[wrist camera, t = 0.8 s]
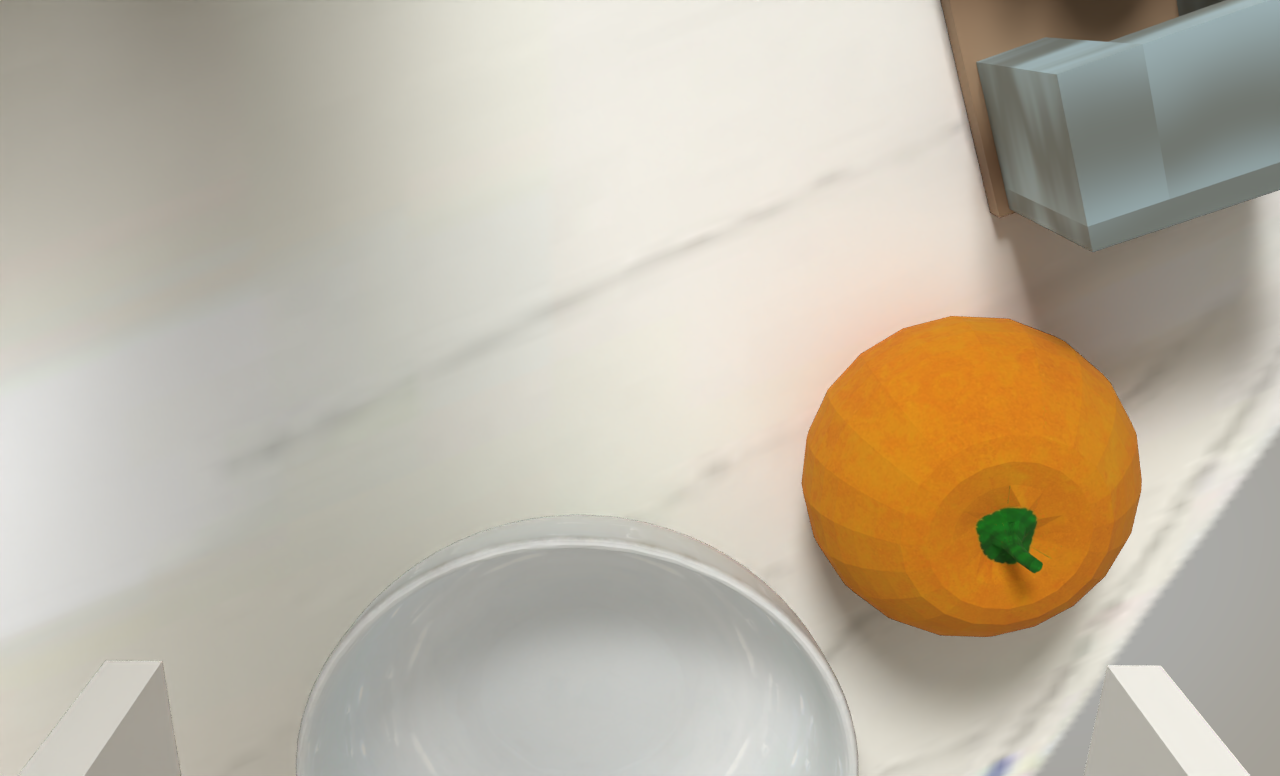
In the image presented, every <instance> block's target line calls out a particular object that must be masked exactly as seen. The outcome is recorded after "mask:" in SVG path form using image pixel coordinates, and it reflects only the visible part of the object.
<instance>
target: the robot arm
mask: <svg viewBox="0 0 1280 776" xmlns="http://www.w3.org/2000/svg"><path fill="white" fill-rule="evenodd" d="M18 776H181V771H180V765H179V759H178V753H177V747H176V741H175V735H174V729H173V723H172V717H171V711H170V705H169V699H168V693H167V687H166V681H165V675H164V669H163V663H162V661H105V662H104V663H103V665H102V666H101V667H100V668H99V670H98V671H97V672H96V674H95V675H94V676H93V678H92V679H91V680H90V682H89V683H88V684H87V685H86V687H85V688H84V689H83V691H82V692H81V693H80V695H79V696H78V697H77V699H76V700H75V701H74V703H73V704H72V705H71V706H70V708H69V709H68V710H67V712H66V713H65V714H64V716H63V717H62V718H61V720H60V721H59V722H58V723H57V725H56V726H55V727H54V729H53V730H52V731H51V733H50V734H49V735H48V737H47V738H46V739H45V741H44V742H43V743H42V744H41V746H40V747H39V748H38V750H37V751H36V752H35V754H34V755H33V756H32V758H31V759H30V760H29V761H28V763H27V764H26V765H25V767H24V768H23V769H22V771H21V772H20V773H19V775H18ZM1084 776H1250V775H1249V774H1248V772H1247V771H1246V770H1245V769H1244V768H1243V766H1242V765H1241V764H1240V763H1239V761H1238V760H1237V759H1236V758H1235V756H1234V755H1233V754H1232V753H1231V751H1230V750H1229V749H1228V748H1227V747H1226V746H1225V744H1224V743H1223V742H1222V740H1221V739H1220V738H1219V737H1218V736H1217V734H1216V733H1215V732H1214V731H1213V729H1212V728H1211V727H1210V726H1209V724H1208V723H1207V722H1206V721H1205V720H1204V718H1203V717H1202V716H1201V715H1200V713H1199V712H1198V711H1197V710H1196V708H1195V707H1194V706H1193V705H1192V703H1191V702H1190V701H1189V700H1188V699H1187V697H1186V696H1185V695H1184V694H1183V692H1182V691H1181V690H1180V689H1179V687H1178V686H1177V685H1176V684H1175V683H1174V681H1173V680H1172V679H1171V678H1170V676H1169V675H1168V674H1167V673H1166V671H1165V670H1164V669H1163V668H1162V667H1161V666H1127V665H1125V666H1124V665H1123V666H1122V665H1120V666H1119V665H1107V668H1106V673H1105V678H1104V682H1103V687H1102V692H1101V697H1100V702H1099V706H1098V711H1097V716H1096V720H1095V725H1094V729H1093V734H1092V739H1091V743H1090V748H1089V753H1088V757H1087V762H1086V767H1085V772H1084Z"/></svg>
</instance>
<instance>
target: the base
mask: <svg viewBox="0 0 1280 776" xmlns="http://www.w3.org/2000/svg"><path fill="white" fill-rule="evenodd" d="M941 4H942V8H943V12H944V17H945V21H946V25H947V29H948V34H949V38H950V42H951V47H952V51H953V55H954V59H955V64H956V68H957V72H958V76H959V81H960V85H961V89H962V94H963V98H964V102H965V106H966V111H967V115H968V119H969V123H970V128H971V132H972V136H973V140H974V145H975V149H976V153H977V158H978V162H979V166H980V170H981V175H982V179H983V183H984V187H985V192H986V196H987V200H988V204H989V209H990V213H992V214H994V215H995V216H997V217H999V218H1001V217H1004V216H1007V215H1010V214H1013V213H1018V214H1020V215H1022V216H1024V217H1026V218H1028V219H1030V220H1032V221H1034V222H1036V223H1038V224H1039V225H1041V226H1043V227H1045V228H1047V229H1049V230H1051V231H1053V232H1055V233H1057V234H1059V235H1061V236H1063V237H1064V238H1066V239H1068V240H1070V241H1072V242H1074V243H1076V244H1078V245H1080V246H1082V247H1084V248H1086V249H1088V250H1089V251H1091V252H1095V251H1098V250H1101V249H1104V248H1107V247H1110V246H1113V245H1116V244H1119V243H1122V242H1125V241H1128V240H1131V239H1134V238H1137V237H1140V236H1143V235H1146V234H1149V233H1152V232H1155V231H1158V230H1161V229H1164V228H1167V227H1170V226H1173V225H1176V224H1179V223H1182V222H1185V221H1188V220H1191V219H1194V218H1197V217H1200V216H1203V215H1206V214H1209V213H1212V212H1215V211H1218V210H1221V209H1224V208H1227V207H1230V206H1233V205H1236V204H1239V203H1242V202H1245V201H1248V200H1251V199H1254V198H1257V197H1260V196H1263V195H1266V194H1269V193H1272V192H1275V191H1278V190H1280V0H941Z"/></svg>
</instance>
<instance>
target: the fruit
mask: <svg viewBox="0 0 1280 776" xmlns="http://www.w3.org/2000/svg"><path fill="white" fill-rule="evenodd" d="M1141 483H1142V479H1141V470H1140V461H1139V453H1138V444H1137V435H1136V432H1135V430H1134V428H1133V425H1132V423H1131V421H1130V419H1129V417H1128V415H1127V413H1126V412H1125V410H1124V408H1123V406H1122V404H1121V402H1120V400H1119V398H1118V396H1117V394H1116V393H1115V391H1114V389H1113V387H1112V385H1111V383H1110V382H1109V381H1108V380H1107V379H1106V377H1105V376H1104V375H1103V374H1102V373H1101V372H1100V371H1098V370H1097V369H1096V368H1095V367H1094V366H1093V365H1091V364H1090V363H1089V362H1088V361H1087V360H1086V359H1085V358H1083V357H1082V356H1081V355H1080V354H1079V353H1078V352H1077V351H1075V350H1074V349H1073V348H1072V347H1071V346H1070V345H1068V344H1067V343H1066V342H1065V341H1063V340H1061V339H1059V338H1057V337H1055V336H1053V335H1050V334H1047V333H1045V332H1042V331H1040V330H1037V329H1034V328H1032V327H1029V326H1026V325H1024V324H1021V323H1019V322H1016V321H1013V320H1011V319H1004V318H983V317H960V316H950V317H946V318H942V319H938V320H934V321H930V322H926V323H923V324H919V325H915V326H911V327H907V328H903V329H902V330H900V331H898V332H896V333H895V334H893V335H891V336H890V337H888V338H886V339H885V340H883V341H881V342H880V343H878V344H876V345H875V346H873V347H871V348H870V349H868V350H866V351H865V352H863V353H861V354H860V355H859V356H858V357H857V359H856V360H855V361H854V362H853V363H852V364H851V365H850V366H849V367H848V368H847V369H846V370H845V372H844V373H843V374H842V375H841V376H840V377H839V378H838V379H837V380H836V381H835V382H834V384H833V385H832V386H831V387H830V388H829V389H828V391H827V393H826V395H825V397H824V399H823V401H822V404H821V406H820V408H819V410H818V412H817V414H816V416H815V419H814V421H813V423H812V425H811V427H810V429H809V432H808V435H807V440H806V449H805V458H804V467H803V475H802V488H803V493H804V498H805V502H806V506H807V510H808V514H809V519H810V523H811V527H812V531H813V535H814V538H815V540H816V541H817V543H818V545H819V547H820V548H821V550H822V551H823V553H824V554H825V556H826V557H827V559H828V560H829V562H830V563H831V565H832V566H833V568H834V569H835V571H836V572H837V574H838V575H839V577H840V578H841V580H842V581H843V583H844V584H845V585H846V586H848V587H849V588H850V589H851V590H852V591H853V592H855V593H856V594H857V595H859V596H860V597H861V598H863V599H864V600H865V601H867V602H868V603H869V604H871V605H872V606H873V607H875V608H876V609H878V610H879V611H880V612H882V613H883V614H884V615H886V616H887V617H888V618H891V619H893V620H896V621H899V622H902V623H905V624H908V625H911V626H914V627H917V628H920V629H923V630H926V631H929V632H932V633H935V634H938V635H945V636H974V637H990V636H996V635H1000V634H1004V633H1008V632H1013V631H1017V630H1021V629H1025V628H1030V627H1034V626H1036V625H1038V624H1040V623H1042V622H1044V621H1046V620H1048V619H1049V618H1051V617H1053V616H1055V615H1057V614H1059V613H1061V612H1063V611H1064V610H1066V609H1068V608H1070V607H1072V606H1074V605H1075V604H1076V603H1077V602H1078V601H1079V600H1080V599H1081V598H1082V597H1083V596H1084V595H1086V594H1087V593H1088V592H1089V591H1090V590H1091V589H1092V588H1093V587H1094V586H1095V585H1096V584H1097V583H1098V582H1100V581H1101V580H1102V579H1103V578H1104V577H1105V576H1106V574H1107V572H1108V571H1109V569H1110V567H1111V566H1112V564H1113V563H1114V561H1115V559H1116V558H1117V556H1118V554H1119V553H1120V551H1121V549H1122V548H1123V546H1124V544H1125V543H1126V541H1127V539H1128V538H1129V536H1130V534H1131V531H1132V527H1133V523H1134V519H1135V515H1136V510H1137V506H1138V502H1139V498H1140V493H1141Z"/></svg>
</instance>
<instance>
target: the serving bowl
mask: <svg viewBox="0 0 1280 776" xmlns="http://www.w3.org/2000/svg"><path fill="white" fill-rule="evenodd" d="M296 776H858V750H857V742H856V735H855V731H854V727H853V722H852V718H851V714H850V710H849V707H848V704H847V701H846V699H845V696H844V693H843V691H842V689H841V686H840V684H839V682H838V680H837V678H836V676H835V674H834V672H833V671H832V669H831V667H830V665H829V663H828V662H827V660H826V658H825V656H824V654H823V653H822V651H821V649H820V648H819V646H818V645H817V643H816V641H815V640H814V638H813V637H812V635H811V634H810V632H809V631H808V630H807V628H806V627H805V625H804V624H803V623H802V622H801V620H800V619H799V618H798V616H797V615H796V614H795V613H794V612H793V611H792V609H791V608H790V607H789V606H788V605H787V604H786V603H785V602H784V600H783V599H782V598H781V597H780V596H779V595H778V594H777V593H775V592H774V591H773V590H772V589H771V588H770V587H769V586H768V585H767V584H766V583H765V582H764V581H762V580H761V579H760V578H758V577H757V576H756V575H755V574H753V573H752V572H751V571H749V570H748V569H747V568H746V567H744V566H743V565H741V564H740V563H738V562H737V561H735V560H734V559H732V558H731V557H729V556H727V555H726V554H724V553H722V552H720V551H719V550H717V549H715V548H713V547H711V546H709V545H707V544H705V543H703V542H701V541H699V540H697V539H694V538H692V537H689V536H687V535H685V534H682V533H679V532H676V531H673V530H670V529H667V528H664V527H660V526H657V525H653V524H650V523H646V522H641V521H636V520H630V519H625V518H618V517H611V516H596V515H562V516H549V517H540V518H533V519H527V520H522V521H518V522H513V523H508V524H505V525H501V526H498V527H494V528H491V529H488V530H485V531H482V532H479V533H476V534H474V535H471V536H469V537H467V538H464V539H462V540H460V541H457V542H455V543H453V544H451V545H449V546H447V547H445V548H443V549H441V550H439V551H438V552H436V553H434V554H433V555H431V556H429V557H428V558H426V559H424V560H423V561H421V562H420V563H418V564H417V565H415V566H414V567H413V568H411V569H410V570H408V571H407V572H406V573H404V574H403V575H402V576H400V577H399V578H398V579H397V580H396V581H394V582H393V583H392V584H391V585H390V586H388V587H387V588H386V589H385V590H384V591H383V592H382V593H381V594H380V595H379V596H378V597H377V598H376V599H374V600H373V602H372V603H371V604H370V605H369V606H368V607H367V608H366V609H365V610H364V611H363V612H362V614H361V615H360V616H359V617H358V618H357V620H356V621H355V622H354V623H353V625H352V626H351V627H350V628H349V630H348V631H347V632H346V634H345V635H344V636H343V637H342V639H341V640H340V642H339V643H338V644H337V646H336V647H335V649H334V650H333V651H332V653H331V654H330V656H329V657H328V659H327V661H326V663H325V664H324V666H323V668H322V670H321V672H320V673H319V675H318V677H317V679H316V681H315V683H314V686H313V688H312V690H311V693H310V695H309V698H308V701H307V704H306V707H305V710H304V713H303V717H302V721H301V725H300V730H299V734H298V741H297V755H296Z"/></svg>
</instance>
